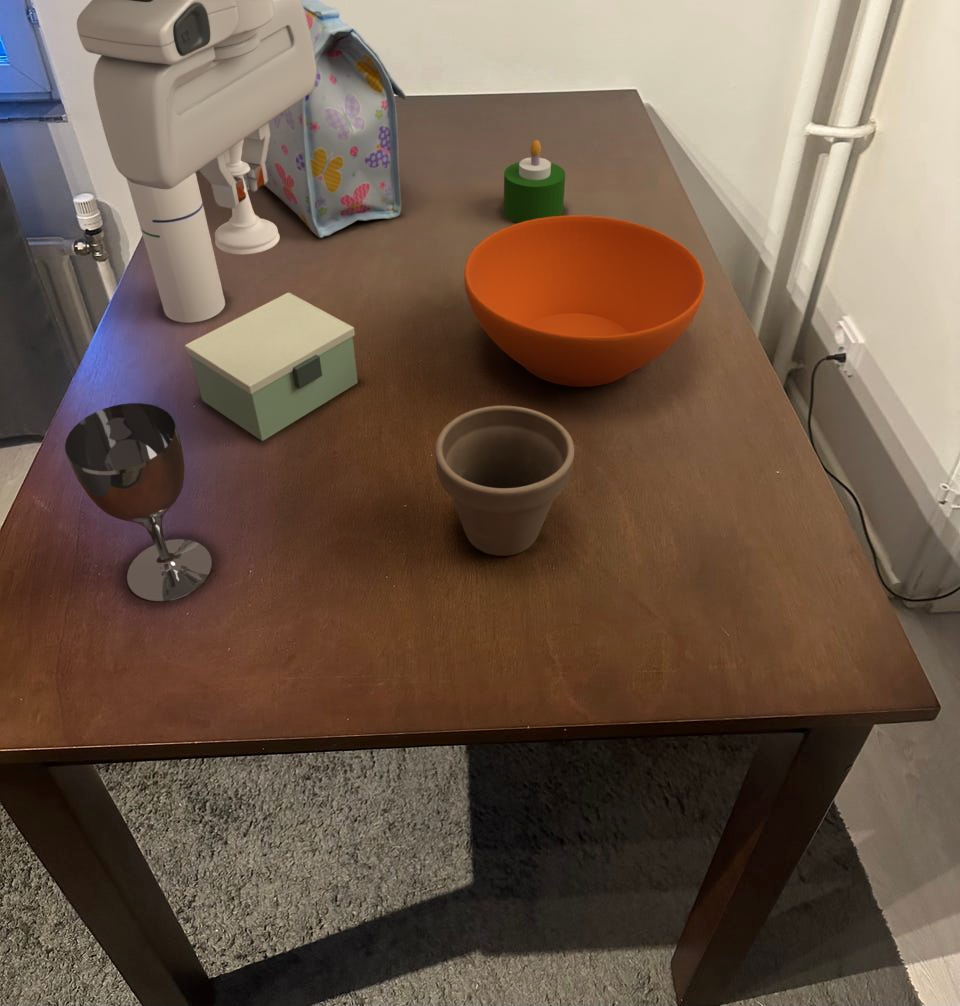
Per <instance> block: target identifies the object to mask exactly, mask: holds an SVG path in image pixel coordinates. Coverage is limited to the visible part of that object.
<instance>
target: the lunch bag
mask: <svg viewBox="0 0 960 1006" xmlns="http://www.w3.org/2000/svg"><path fill="white" fill-rule="evenodd" d="M301 2H302V5H303V8H304V11H305V14H306V18H307V23H308V27H309V31H310V36H311V41H312V46H313V51H314V56H315V62H316V69H317V76H316V82H315V87H314V90H313V91H312V92H311V93H310V94H309V95H307V96H306V97H304V98H303V99H301V100H300V101H298V102H297V103H295V104H294V105H292V106H291V107H290V108H288V109H287V110H285V111H284V112H282V113H281V114H279V115H278V116H276V117H275V118H274V119H272V120H271V121H269V122H268V123H269V129H270V139H269V145H268V151H267V157H266V161H265V166H266V172H267V178H268V181H267V183H266V184H265V185H264V186H265V187H266V188H267V189H268V190H270V192H271V193H273V194H274V195H275V196H277V197H278V198H279V199H280V201H281V202H283V203H284V204H285V205H286V206H287V207H288V208H289V209H290V210H291V211H293V212H294V214H296V215H297V216H298V218H300V220H301V221H302V222H303V223H305V225H306V226H307V227H308V228H309V230H310V231H311V232H312V233H313V234H314V235H315V236H316V237H318V238H321V239H322V238H324V237H328V236H330V235H332V234H334V233H336V232H338V231H340V230H342V229H344V228H346V227H349V226H350V225H352V224H353V223H355V222H357V221H364V222H366V221H371V220H380V219H381V220H383V219H384V220H386V219H387V220H391V219H394V218H397V217H399V216H400V215H401V211H402V198H401V197H402V196H401V180H400V162H399V133H398V132H399V131H398V114H397V105H396V99H395V98H396V97H395V96H397V97H398V98H399V99H400V98H401V99H402V100H407V95H406V94H405V93H404V91H403V89H402V88H401V87H400V86H399V85H398V83H397V82H396V80H395V79H394V78H393V77H392V74H391V73H390V71H389V70H388V68H387V66H386V64H385V63H384V62H383V60H382V59H381V57H380V56H379V55H380V54H378V52H376V50H375V49H374V48H373V47H372V46H371V45H370V43H369V42H368V41H366V39H365V38H364V37H363V35H361V34H360V32H358V30H357V29H356V28H355V27H354V26H353V25H351V24H350V23H347V22H345V21H344V20H343V19H342V18H340V14H341V13H340V10H339V8H338V7H332V6H330V5H328V4H326V3H324V2H323V1H322V0H301Z"/></svg>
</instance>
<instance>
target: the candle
mask: <svg viewBox="0 0 960 1006" xmlns="http://www.w3.org/2000/svg"><path fill="white" fill-rule="evenodd" d="M541 145H542V144H541V143H540V141H539V140H538V139H534V140H533V141H532V143H531V145H530V150H529V151H530V157H526V158H523V159H521V160H520V161H518V162H515V163H512V164H510V165H509V166H507V167H506V168H505V169H504V172H503V215H504V217H506V219H508V220H509V221H511V222H513V223H515V224H517V223H521V222H525V221H529V220H533V219H538V218H545V217H553V216H563V213H564V201H565V186H566V171H565V170H564V169H563V167H562V166H559V165H558V164H555V163H553V162H551V161H550V160H548V159H546V158H543V157H540V155H541V151H542V146H541Z"/></svg>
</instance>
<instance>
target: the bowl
mask: <svg viewBox="0 0 960 1006" xmlns="http://www.w3.org/2000/svg"><path fill="white" fill-rule="evenodd" d="M463 276H464V277H463V279H464V280H463V282H464V287H465V291H466V296H467V299H468V302H469V304H470V307H471V309H472V311H473V313H474V316H475V317H476V319H477V321H478V323H479V324H480V325H481V327H482V329H483V331H485V333H486V334H487V336H488V337H489V338H490V339H491V340H492V341H493V343H495V344H496V345H497V346H498V347H499V349H500V350H501V351H503V352H504V353H505V355H508V357H510V358H511V359H512V360H514V361H515V362H516V363H518V364H519V365H521V366H522V367H524V369H526V371H528V372H529V373H530V374H531V375H534V376H535V377H537V378H539V379H541V380H544V381H547V382H550V383H553V384H556V385H559V386H560V385H561V386H567V387H577V388H585V387H586V388H589V387H597V386H602V385H607V384H610V383H613V382H615V381H618V380H620V379H622V378H624V377H625V376H628V374H630V373H632V372H634V371H636V370H638V369H640V368H643V367H644V366H646V365H647V364H649V363H650V362H652V361H654V360H656V358H658V357H659V356H661V355H662V354H663V353H664V352H665V351H667V350H668V349H669V348H670V347H671V346H672V345H674V343H675V342H676V341H678V340H679V339H680V338H681V336H682V335H683V334H684V332H685V331H686V330H687V329H688V328H689V326H690V324H691V323H692V321H693V320H694V318H695V316H696V314H697V312H698V310H699V308H700V306H701V305H702V301H703V298H704V294H705V289H706V279H705V273H704V271H703V268H702V266H701V264H700V262H699V260H698V259H697V258H696V257H695V255H693V253H691V251H689V249H688V248H687V247H685V245H683V244H682V243H680V242H679V241H677V240H675V239H674V238H672V237H670V236H669V235H666V234H665V233H663V232H661V231H658V230H656V229H653V228H651V227H648V226H646V225H642V224H638V223H635V222H632V221H628V220H624V219H617V218H612V217H607V216H597V215H596V216H595V215H583V214H582V215H579V214H578V215H562V216H553V217H545V218H538V219H533V220H529V221H525V222H521V223H515V224H511V225H509V226H507V227H504V228H501V229H499V230H498V231H495V232H493V233H491V234H490V235H488V236H487V237H485V238H484V239H483V240H482V241H480V242H479V243H478V244H477V245H476V246H475V248H473V250H472V251H471V252H470V253H469V256H468V258H467V260H466V263H465V267H464V271H463Z"/></svg>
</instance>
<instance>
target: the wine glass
mask: <svg viewBox="0 0 960 1006" xmlns="http://www.w3.org/2000/svg"><path fill="white" fill-rule="evenodd" d="M64 451H65V453H66V458H67V459H68V461H69V464H70V467H71V469H72V471H73V473H74V474H75V477H76V479H77V481H78V483H79V484H80V486H81V487H82V488H83V491H85V493H86V495H87V496H88V498H90V499H91V501H92V502H93V503H94V504H95V505H96V506H97V507H98V508H99V509H100V510H101V511H103V512H104V513H105V514H106V515H108V516H110V517H112V518H115V519H118V520H121V521H125V522H131V523H136V524H139V525H140V526H142V527H143V528H144V529H145V530H146V531H147V533H148V534H149V536H150V538H151V539H152V541H153V543H154V544H153V545H151V546H149V547H148V548H146V549H145V550H142V551H141V552H140V553H139V554H138V555H137V556H136V557H135V558H134V559H133V560H132V562H131V564H130V565H129V567H128V570H127V575H126V583H127V585H128V588H129V590H130V591H131V592H132V593H133V594H134V595H135V596H137V597H138V598H140V599H142V600H145V601H148V602H154V603H157V602H159V603H160V602H161V603H164V602H171V601H176V600H178V599H181V598H183V597H186V596H188V595H190V594H191V593H194V592H195V591H196V590H197V589H199V588H200V587H201V586H202V585H203V584H204V583H205V582H206V581H207V579H208V578H209V576H210V574H211V572H212V568H213V559H212V556H211V553H210V551H209V550H208V549H207V548H206V547H205V546H204V545H202V544H200V543H199V542H196V541H194V540H190V539H184V538H183V539H182V538H181V539H180V538H177V539H176V538H175V539H168V540H165V535H164V530H163V529H164V528H163V519H164V517H165V514H166V513H167V512H168V511H169V510H170V509H171V508H172V507H173V506H174V504H175V503H176V501H178V498H179V497H180V495H181V493H182V490H183V488H184V482H185V461H184V460H185V459H184V451H183V446H182V441H181V438H180V434H179V431H178V428H177V425H176V423H175V420H174V418H173V416H172V415H171V414H170V413H169V412H168V411H166V410H165V409H163V408H161V407H159V406H157V405H153V404H149V403H142V402H131V403H130V402H129V403H121V404H115V405H111V406H107V407H105V408H102V409H100V410H98V411H95V412H93V413H91V414H89V415H87V416H86V417H85V418H83V419H82V420H80V421H79V422H78V423H77V424H76V425H75V426H73V428H71V430H70V431H69V433H68V435H67V437H66V439H65V443H64Z"/></svg>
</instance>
